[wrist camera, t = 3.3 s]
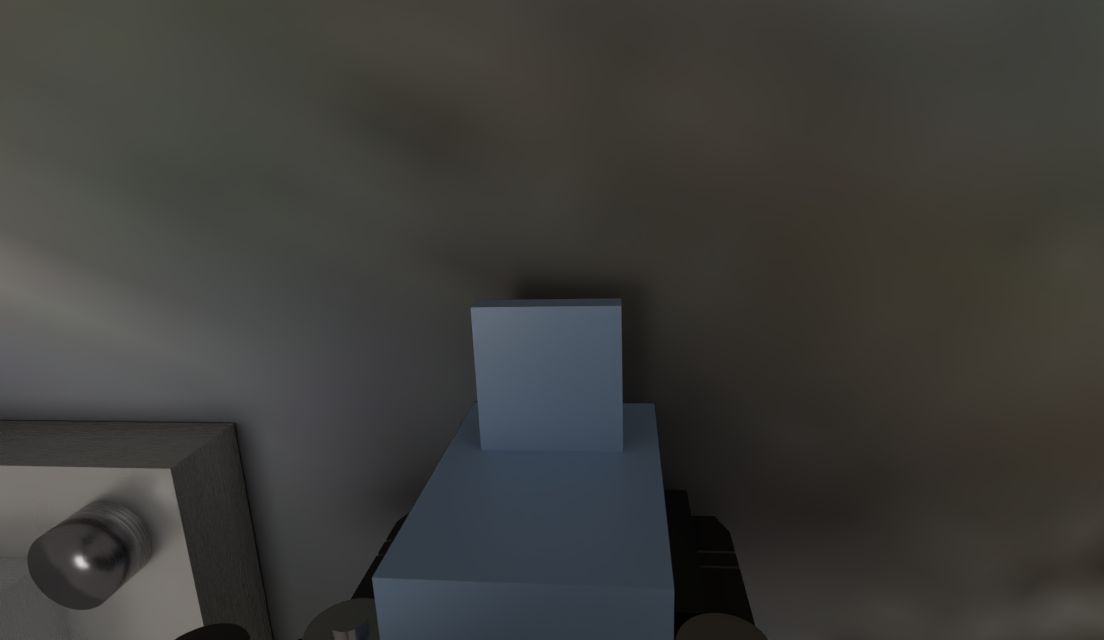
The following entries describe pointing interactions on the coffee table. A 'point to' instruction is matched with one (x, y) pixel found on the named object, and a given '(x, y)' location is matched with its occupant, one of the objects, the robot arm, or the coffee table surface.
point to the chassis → (125, 532)
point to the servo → (538, 495)
